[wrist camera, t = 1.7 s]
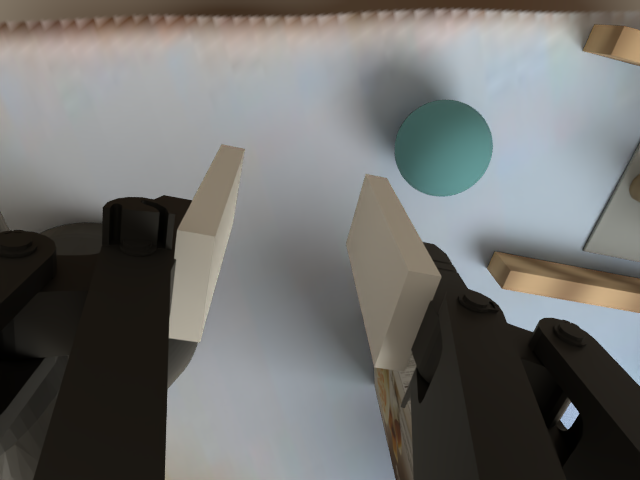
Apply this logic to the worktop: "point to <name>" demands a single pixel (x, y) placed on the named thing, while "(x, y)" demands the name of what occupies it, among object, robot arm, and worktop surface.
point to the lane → (566, 278)
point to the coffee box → (396, 416)
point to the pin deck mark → (619, 220)
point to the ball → (443, 148)
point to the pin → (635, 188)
